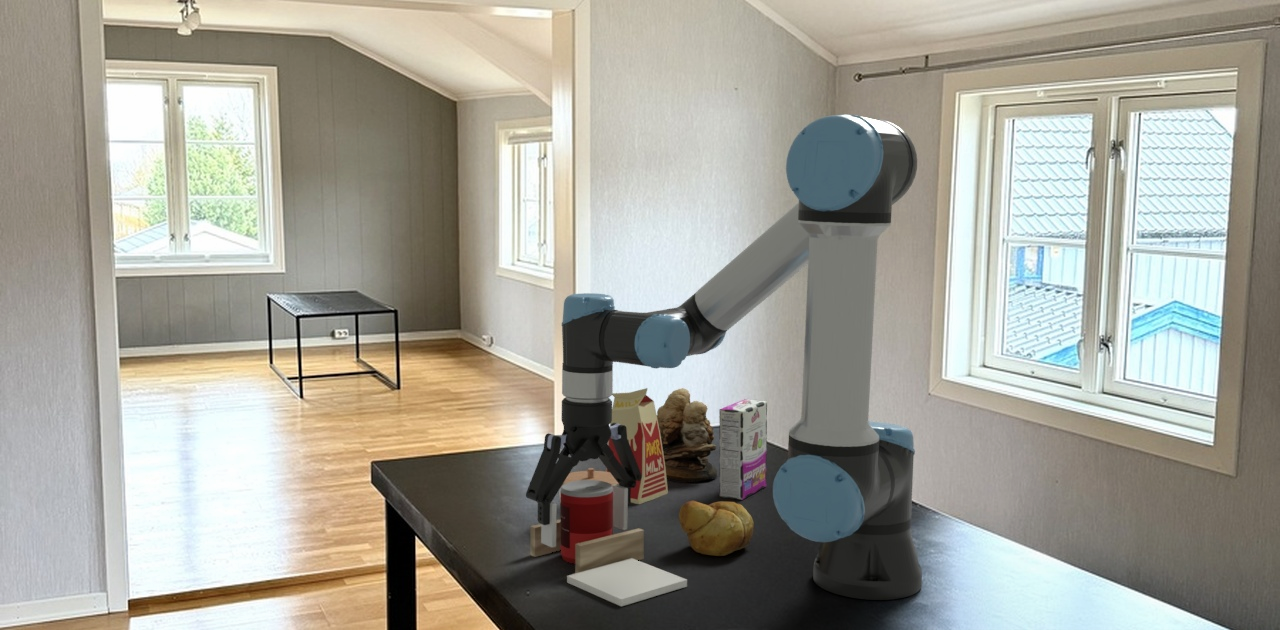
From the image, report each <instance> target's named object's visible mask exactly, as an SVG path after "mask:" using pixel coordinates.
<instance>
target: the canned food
mask: <svg viewBox="0 0 1280 630" xmlns="http://www.w3.org/2000/svg"><path fill="white" fill-rule="evenodd" d="M559 503H560V509H559V510H560V512H559V513H560V514H559V515H560V519H561V551H560V555H561V557H562V558H561V559H562V560H563V561H564V562H567V563H568V562H569V563H568V564H572V563H574V564H573V565H575V544H577V543H581V542H585V541H589V540H594V539H598V538H602V537H606V536H610V535H614V526H613V486H612V485H611V484H610V483H607V482H604V481H597V480H579V481H572V482H568V483H566V484H564V485H562V486H561V497H560V498H559Z"/></svg>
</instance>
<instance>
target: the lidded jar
mask: <svg viewBox="0 0 1280 630" xmlns="http://www.w3.org/2000/svg"><path fill="white" fill-rule="evenodd" d="M579 480H597V481H604V482H607V483H610V484H611V485H612V486H613V485H616V484H617V485H619V483H618V482H617V481H616V480H615V478H614V477H613V476H612V474H611V473H610V472H606V471H604V470H603V471H602V470H595V469H594V468H593V467H589V468H587V470H580V471H573V472H570V473H569V475H568V476H567V478H566V479H565V481H564V483H563V484H562V485H564V484H566V483H568V482H572V481H579ZM558 495H559V496H558V497H559V499H560V497H561V487H560V489H559V491H558Z"/></svg>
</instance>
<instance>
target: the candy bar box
mask: <svg viewBox="0 0 1280 630" xmlns="http://www.w3.org/2000/svg"><path fill="white" fill-rule="evenodd" d="M767 408H768V401H767V400H761V399H760V400H759V399H750V398H746V399H745V398H744V399H742V400H740V401H739V400H738V401H737V402H734V403H732V404H729V405H727V406H725V407H721V408H719V416H718V417H719V497H721V498H725V499H730V500H731V499H733V500H740V501H743V500H745V499H746V498H749V497H751V496H752V495H754V494H755V493H757V492H759V491H761V490H763V489H764V488H765V487H767V486H768V485H767V476H768V475H767V472H768V471H767V464H768V463H767V455H768V454H767V452H768V451H767V450H768V449H767V448H768V447H767V441H768V439H767V438H768V434H767V433H768V431H767V429H768V426H767V425H768V409H767Z"/></svg>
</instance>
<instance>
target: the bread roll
mask: <svg viewBox="0 0 1280 630" xmlns="http://www.w3.org/2000/svg"><path fill="white" fill-rule="evenodd" d="M678 519H679V524H680V527H681V530H682V531H683V532H685V533H686V536H687V538H688V543H689V546H690V547H691V548H692V550H693V551H695V552H696V553H699V554H701V555H707V556H712V557H713V556H714V557H724V556H727V555H730V554H731V553H734V552H735V551H739V550H742V549H744V548H746V547H747V546H749V544H750V543H751V540H752V537H753V535H754V526H755V524H754V520H753V517H752V515H751V514H750V513H749V512H748V511H747V509H746V508H745V506H743V505H742V504H740V503H736V502H735V501H723V500H721V501H714V502H712V503H710V504H705V503H702V502H699V501H696V500H690V501H686V502H685V503H683V504H682V505H681V507H680V508H679V512H678Z"/></svg>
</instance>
